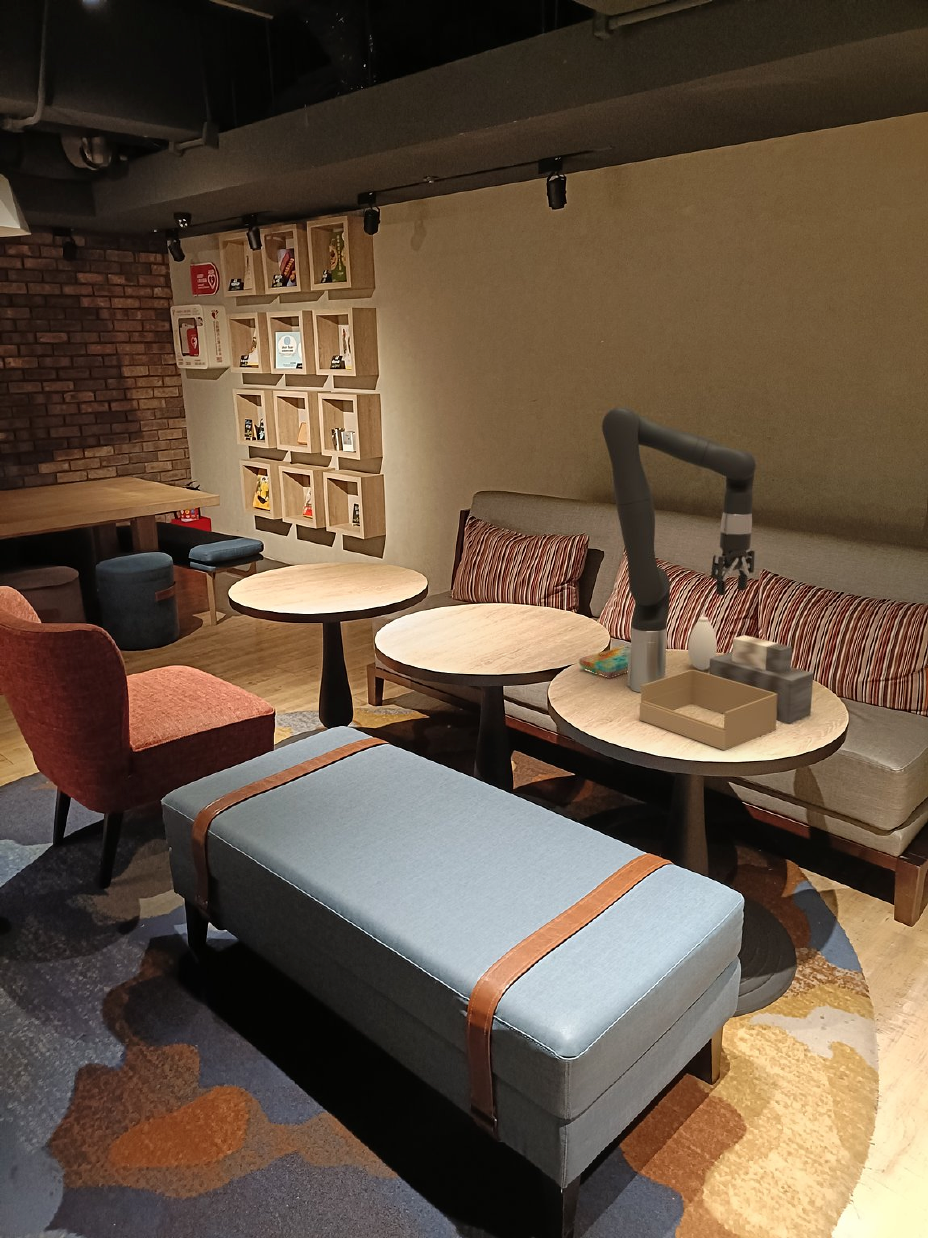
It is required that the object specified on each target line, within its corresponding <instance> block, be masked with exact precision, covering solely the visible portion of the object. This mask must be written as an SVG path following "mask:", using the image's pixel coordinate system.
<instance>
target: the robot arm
mask: <svg viewBox="0 0 928 1238" xmlns="http://www.w3.org/2000/svg"><path fill="white" fill-rule="evenodd" d="M602 419H603V420H602V422H601V433H602V435H603V438H604V440H605V444H606V447H607V451H608V455H609V458H610V462H611V468H612V480H613V489H614V490H613V491H614V497H615V504H616V510H617V511H616V512H617V516H618V520H619V524H620V525H619V526H620V529H621V534H622V541H623V545H624V547H625V548H624V549H625V553H626V561H627V572H628V586H629V591H630V595H631V596H632V598H633V599H634V609H633V612H632V615H631V631H630V632H631V635H630V637H631V638H630V640H631V643H630V647H631V652H629V653H628V672H627V679H626V680H627V687H628V686H629V687H628V688H630V690H632V691H634V692H636V693H640V694H641V685H644V684H648V683H651V682H654V681H657V680H660V679H663V678H666V664H667V663H666V660H667V659H666V658H667V656H666V655H667V632H668V631H667V629H668V628H667V625H668V618H669V614H670V599H671V583H670V582H671V581H670V578H669V575H668V573H667V572H666V571H665V570H664V569H663V568H662V567H660V566H658V563H657V559H656V554H655V553H656V551H655V534H656V533H655V532H656V513H655V507H654V502H653V496H652V492H651V489H650V488H651V487H650V484H649V482H648V478H647V476H646V473H645V470H644V467H643V464H642V461H641V456H640V455H641V454H640V447H639V446H644V447H647V448H651V449H653V450H656V451H659V452H661V453H664V454H666V455H668V456H671V457H673V458H675V459H677V460H680V461H683V462H685V463H688V464H691V465H694V466H697V467H700V468H703V469H708V470H710V471H712V472H715V473H717V474H719V475H722V476H724V477H726V478H725V492H724V497H723V505H722V506H723V508H722V516H721V520H720V521H721V522H720V535H719V548H720V549H721V550H722V552H721V555H717V554H714V555H713V557H712V562H711V563H712V564H711V573H710V578H711V579H714V580H716V588H715V591H716V594H717V595H719V596H725V595H726V590H727V589H726V588H727V587H726V586H727V581H726V580H727V579H728V577H729V575H731V574H732V572H733V571H735V570H736V571H737V573H738V580H737V590H739V591H742V592H743V591H746V590H747V586H748V577H749V576H750V574H753V573H754V571H755V556H756V555H755V550H752V549H750V548H751V540H752V527H753V517H752V513H753V501H754V498H753V497H754V495H753V486H754V480H755V471H756V468H757V465H756V459H755V457H754V455H753V453H751V452H750V451H748V450H745V449H740V450H739V449H738V450H737V449H734V448H730V447H728V446H724V445H722V444H720V443H718V442H717V441H714V440H713V439H712V440H711V439H709V438H706V437H703V436H699V435H696V434H692V433H690V432H686V431H682V430H678V429H675V428H671V427H669V426H665V425H661V424H660V423H657V422H654V421H653V420H650V419H648V418H646V417H645V416H642V415H641V414H639V413H637V412H635V411H634V410H633V409H631V408H630V407H624V406H622V407H621V406H619V407H614V408H612V409H610V410H609V411H608V412H606V414H605V415H604V416H603V418H602ZM748 565H749V566H748Z"/></svg>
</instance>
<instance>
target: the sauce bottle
mask: <svg viewBox="0 0 928 1238" xmlns="http://www.w3.org/2000/svg"><path fill="white" fill-rule="evenodd" d="M705 611H706V610H705V609H703V611H702V616H700V617H698V621H697V622H696V623H695V625H694V626H693V628H692V630H691V632H690V633H691V634H690V635H689V639H688V644H687V645H688V647H687V651H688V652H687V653H688V658H689V661H690V663H691V665H692V666H694V667H695V670H697V671H705V670H707V669H709V668H710V658H714V657H717V656H716V655H717V652H718V646H717V645H718V643H717V637H716V633H715V631H714V627H713V625H712V624H711V622H710V621H709V617H707V616H706V615H705V613H706V612H705Z"/></svg>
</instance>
